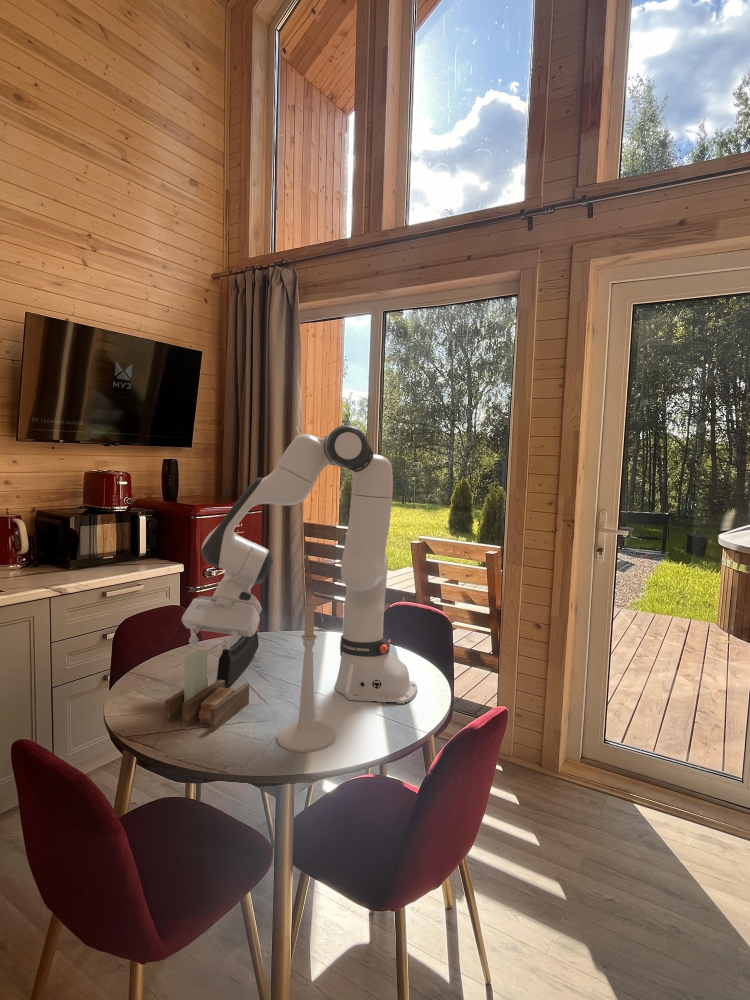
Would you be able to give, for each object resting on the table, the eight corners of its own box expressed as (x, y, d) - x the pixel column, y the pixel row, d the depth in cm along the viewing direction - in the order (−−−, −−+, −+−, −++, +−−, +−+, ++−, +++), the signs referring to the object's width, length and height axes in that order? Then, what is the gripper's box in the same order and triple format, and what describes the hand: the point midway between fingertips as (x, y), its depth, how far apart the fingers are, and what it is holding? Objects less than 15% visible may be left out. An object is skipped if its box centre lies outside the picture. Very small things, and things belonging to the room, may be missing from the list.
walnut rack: (248, 703, 144) (249, 684, 144) (214, 730, 129) (215, 709, 129) (203, 696, 148) (203, 677, 148) (164, 722, 132) (165, 701, 132)
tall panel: (206, 706, 142) (207, 650, 141) (192, 716, 136) (193, 658, 135) (198, 704, 143) (199, 649, 142) (183, 714, 137) (184, 656, 136)
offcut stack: (234, 706, 143) (234, 688, 143) (215, 725, 132) (215, 706, 132) (218, 704, 143) (219, 687, 143) (198, 724, 133) (199, 705, 132)
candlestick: (273, 727, 132) (277, 598, 130) (328, 722, 135) (332, 597, 134) (280, 754, 120) (284, 612, 118) (340, 748, 123) (345, 610, 121)
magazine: (225, 661, 149) (256, 602, 177) (213, 660, 149) (245, 601, 177) (230, 714, 155) (259, 649, 183) (218, 714, 155) (249, 649, 183)
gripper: (191, 588, 154) (167, 634, 145) (260, 596, 148) (240, 644, 139) (200, 601, 158) (177, 646, 149) (267, 609, 153) (248, 657, 144)
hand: (208, 645), depth 144 cm, fingers open, 8 cm apart
